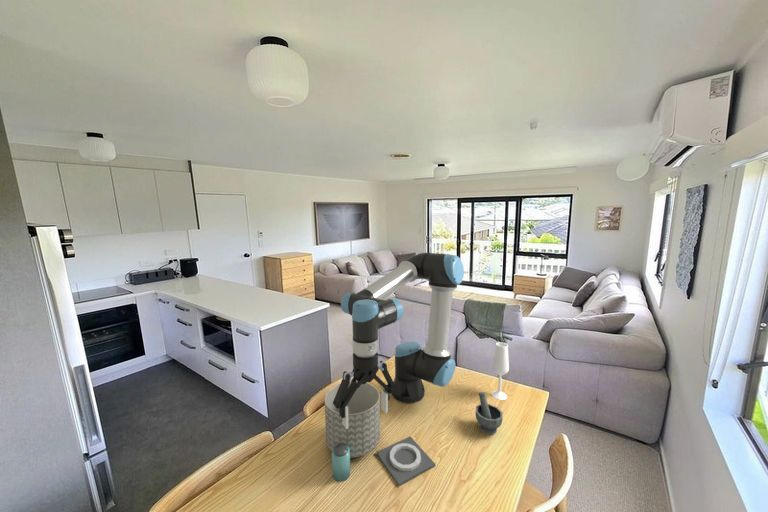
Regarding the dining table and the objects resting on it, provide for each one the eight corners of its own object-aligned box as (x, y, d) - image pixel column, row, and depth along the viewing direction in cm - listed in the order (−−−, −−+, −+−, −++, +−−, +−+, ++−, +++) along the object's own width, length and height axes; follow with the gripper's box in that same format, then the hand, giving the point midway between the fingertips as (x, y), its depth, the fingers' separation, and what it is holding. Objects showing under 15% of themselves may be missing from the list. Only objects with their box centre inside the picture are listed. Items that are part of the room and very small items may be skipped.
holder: (376, 454, 99) (376, 449, 99) (410, 438, 106) (410, 433, 106) (399, 486, 87) (399, 481, 87) (435, 466, 94) (435, 461, 94)
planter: (387, 431, 110) (387, 386, 107) (367, 473, 92) (367, 420, 90) (342, 420, 116) (340, 377, 114) (315, 456, 98) (313, 407, 96)
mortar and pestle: (507, 435, 107) (509, 405, 106) (484, 440, 105) (486, 409, 103) (489, 415, 118) (490, 388, 117) (468, 419, 116) (469, 391, 114)
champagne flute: (508, 393, 132) (511, 343, 129) (505, 401, 127) (508, 349, 124) (493, 389, 136) (495, 340, 133) (489, 396, 130) (492, 345, 127)
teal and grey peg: (330, 471, 93) (329, 446, 92) (346, 463, 95) (345, 439, 94) (336, 484, 88) (335, 459, 87) (353, 476, 91) (352, 451, 90)
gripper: (330, 368, 78) (332, 441, 80) (406, 347, 91) (405, 411, 93) (320, 357, 84) (322, 425, 87) (393, 339, 97) (392, 398, 100)
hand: (365, 418), depth 90 cm, fingers open, 13 cm apart
